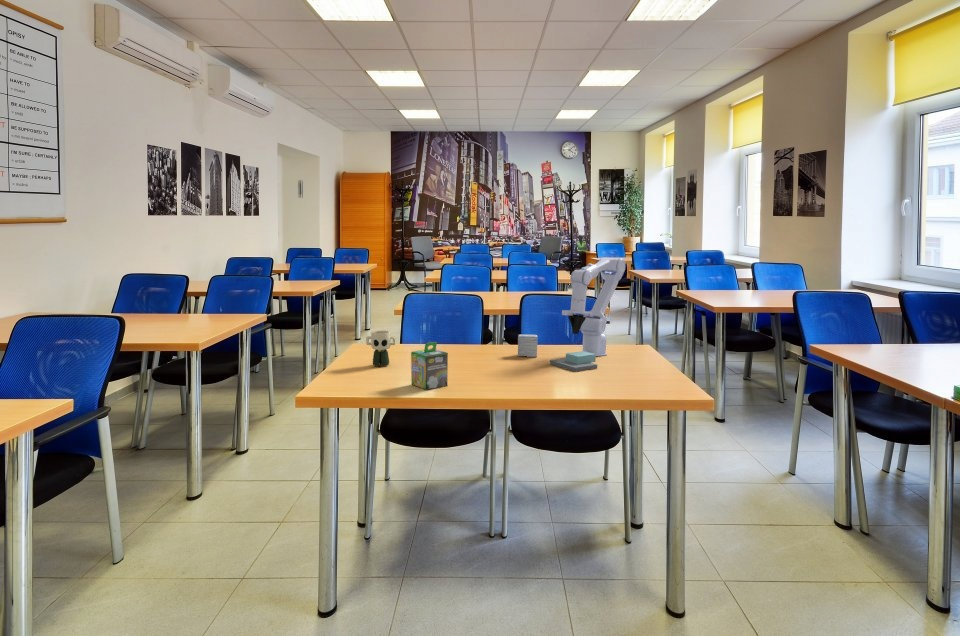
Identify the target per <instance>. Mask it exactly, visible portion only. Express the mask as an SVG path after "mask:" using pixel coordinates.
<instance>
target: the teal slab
mask: <svg viewBox="0 0 960 636" xmlns="http://www.w3.org/2000/svg"><path fill="white" fill-rule="evenodd" d="M596 357H597V356H596V354H593V353H589V352H585V351H583V350H581V351H574V352H573V351H572V352H567V353H565V358H566V361H568V362H571V363H575V364H584V363H596Z"/></svg>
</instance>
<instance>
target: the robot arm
mask: <svg viewBox="0 0 960 636" xmlns="http://www.w3.org/2000/svg"><path fill="white" fill-rule="evenodd" d="M625 270H626V261H625V259H624V257H623V258H622V257H620V258H619V257H605V256H603V257H601V258H599V260H598V262H596V263H595V264H594V263H593V264H592V263H588V264H587V265H586V266H583V267H581V268H580V269H574V271H572V272H571V275H570V284H571V285H570V286H571V288H572V289H571V302H570V309H567V310H566V309H562V310H561V316H568V317H567V318H568V319H569V322H570V325H571V331H572V334H574V335H579V333H580V332H581V334H582V351H585V352H589V353H593V354H596V357H601V356H602V357H603V356H607V354H608V353H607V351H606V350H607V339H606V336H605V334H604V332H605V331H606V326H607V322H608V320H607V317H606V316H605V312H606V310H607V309H608V306H609V304H610V301H611V299H612V297H613V294H615V293H614V292H615V290H616V288H617V286H618V284H619V281H620V280H621V279H622V277H623V276H624V273H625ZM599 273H600V275H601V278H602V279H603V280H604V283H603V285H602V287H601V290H600V292H599V294H598V296H597V298H596V300H595V302H594V304H593V307H592V308H591V310H587V311H586V300H587V291H588V285H590V283H591V281H592V280H593V279H595V278H597V277H598V276H599Z"/></svg>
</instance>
